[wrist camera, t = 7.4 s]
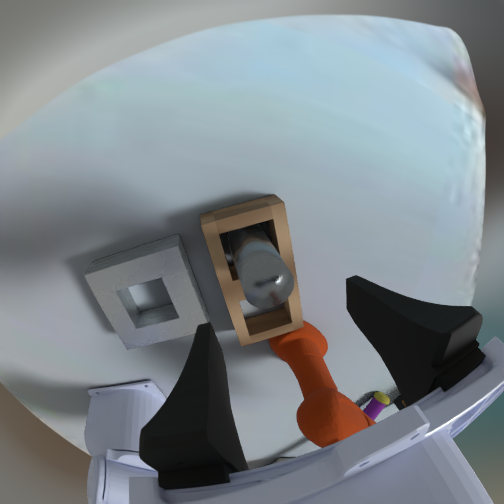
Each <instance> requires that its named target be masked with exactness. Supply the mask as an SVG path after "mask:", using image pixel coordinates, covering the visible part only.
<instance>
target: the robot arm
mask: <svg viewBox="0 0 504 504" xmlns="http://www.w3.org/2000/svg"><path fill="white" fill-rule="evenodd" d="M346 297H347V310H348V312H349V314H350V316H351V317H352V319H353V321H354V322H355V324H356V325H357V326H358V328H359V329H360V330H361V332H362V333H363V334H364V335H365V337H366V338H367V339H368V340H369V342H370V343H371V344H372V345H373V347H374V348H375V349H376V351H377V352H378V353H379V355H380V356H381V358H382V360H383V361H384V363H385V365H386V366H387V368H388V370H389V372H390V374H391V376H392V377H393V379H394V381H395V383H396V385H397V387H398V389H399V392H400V394H401V396H402V398H403V401H404V403H405V405H406V408H404V409H402V410H400V411H398V412H397V413H395V414H393V415H391V416H389V417H387V418H386V419H384V420H382V421H380V422H378V423H376V424H374V425H372V426H370V427H368V428H366V429H363V430H361V431H359V432H357V433H355V434H353V435H351V436H349V437H347V438H345V439H344V440H341V441H339V442H336V443H334V444H331V445H329V446H326V447H324V448H321V449H318V450H316V451H313V452H310V453H307V454H304V455H301V456H298V457H295V458H292V459H288V460H285V461H282V462H278V463H275V464H271V465H267V466H263V467H259V468H255V469H251V470H249V469H248V466H247V463H246V460H245V457H244V454H243V450H242V447H241V444H240V440H239V437H238V433H237V430H236V426H235V422H234V418H233V414H232V410H231V404H230V397H229V389H228V380H227V372H226V365H225V361H224V357H223V353H222V349H221V347H220V344H219V342H218V339H217V337H216V335H215V332H214V330H213V327H212V325H211V323H210V322H207V323H204V324H200V325H198V326H197V329H196V334H195V337H194V341H193V344H192V347H191V350H190V353H189V356H188V359H187V361H186V364H185V366H184V369H183V371H182V373H181V375H180V377H179V379H178V381H177V383H176V385H175V387H174V388H173V390H172V392H171V393H170V395H169V396H168V398H167V399H166V398H165V397H164V395H163V394H162V393H161V391H160V390H159V389H158V388H157V386H156V385H155V384H154V382H152V381H143V382H138V383H132V384H125V385H119V386H112V387H105V388H97V389H89V390H88V394H89V395H90V396H91V400H90V405H89V410H88V415H87V420H86V426H85V434H84V435H85V443H86V447H87V449H88V451H89V453H90V455H91V456H92V459H91V462H90V467H89V472H88V482H87V496H88V504H493V502H492V500H491V498H490V497H489V495H488V494H487V492H486V490H485V489H484V487H483V485H482V484H481V482H480V481H479V479H478V477H477V476H476V474H475V473H474V471H473V470H472V468H471V467H470V465H469V464H468V462H467V461H466V459H465V457H464V456H463V454H462V453H461V451H460V450H459V448H458V447H457V446H456V444H455V443H454V441H453V440H452V438H454V436H456V435H457V434H458V433H460V432H461V431H462V430H463V429H464V428H465V427H466V426H468V425H469V424H470V423H471V422H472V421H473V420H474V419H475V418H476V417H477V416H479V415H480V414H481V413H482V412H483V411H484V410H485V409H486V408H487V407H488V406H489V405H490V404H491V403H492V402H493V401H494V400H495V399H496V398H497V397H498V396H499V395H500V394H501V393H502V392H503V391H504V344H503V343H502V342H501V341H500V340H499V339H498V338H497V337H494V338H493V339H492V340H491V341H489V342H488V343H487V344H486V345H485V346H484V347H483V348H482V350H480V349H479V348H478V346H479V343H478V342H477V341H476V338H477V335H478V333H479V330H480V328H481V325H482V320H483V319H482V318H483V317H482V315H481V314H480V313H479V312H478V311H477V310H475V309H474V308H473V307H472V306H449V305H440V304H434V303H429V302H424V301H420V300H417V299H413V298H410V297H407V296H404V295H401V294H398V293H396V292H393V291H391V290H388V289H386V288H384V287H381V286H379V285H377V284H375V283H373V282H370V281H368V280H366V279H364V278H362V277H359V276H357V275H355V276H352V277H350V278H347V279H346Z"/></svg>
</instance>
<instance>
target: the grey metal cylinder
mask: <svg viewBox="0 0 504 504" xmlns="http://www.w3.org/2000/svg"><path fill="white" fill-rule="evenodd" d="M227 241H228V245H229V248H230V252H231V255H232V258H233V261H234V264H235V267H236V270H237V274H238V277H239V280H240V283H241V286H242V289H243V292H244V295H245V298H246V299H247V301H248V302H249V303H250V304H251V305H253V306H255V307H258V308H272V307H276V306H278V305H280V304H282V303H283V302H284V301H286V300H287V299H288V297H289V296H290V295H291V293H292V291H293V288H294V277H293V275H292V273H291V271H290V270H289V268H288V267H287V265H286V264H285V262H284V261H283V259H282V258H281V256H280V255H279V253H278V252H277V250H276V249H275V247H274V246H273V244H272V243H271V241H270V240H269V238H268V237H267V235H266V234H265V232H264V231H263V230H262V228H261V227H260V226H259V225H258V224H257V223H256V224H253V225H249V226H246V227H242V228H239V229H235V230H232V231H229V233H228V237H227Z"/></svg>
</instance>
